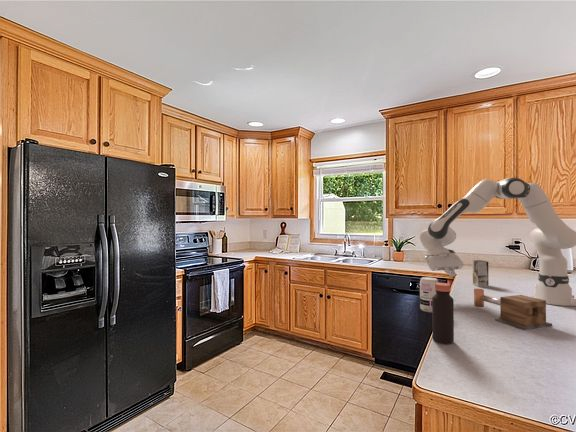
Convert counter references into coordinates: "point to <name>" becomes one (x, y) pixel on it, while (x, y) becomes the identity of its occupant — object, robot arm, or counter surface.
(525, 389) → the counter surface
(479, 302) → the shaft
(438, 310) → the bottle
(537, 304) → the block
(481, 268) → the coffee box
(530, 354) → the counter surface
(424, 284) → the supplement can
